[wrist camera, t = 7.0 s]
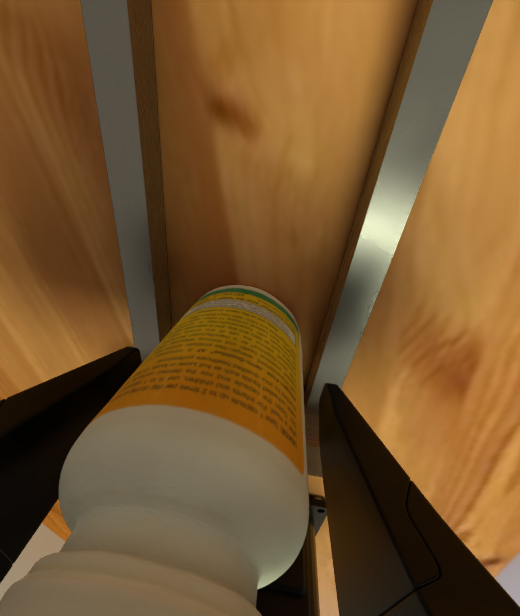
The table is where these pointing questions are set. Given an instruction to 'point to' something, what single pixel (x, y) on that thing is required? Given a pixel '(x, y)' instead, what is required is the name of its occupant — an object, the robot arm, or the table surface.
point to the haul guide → (373, 204)
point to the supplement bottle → (186, 475)
